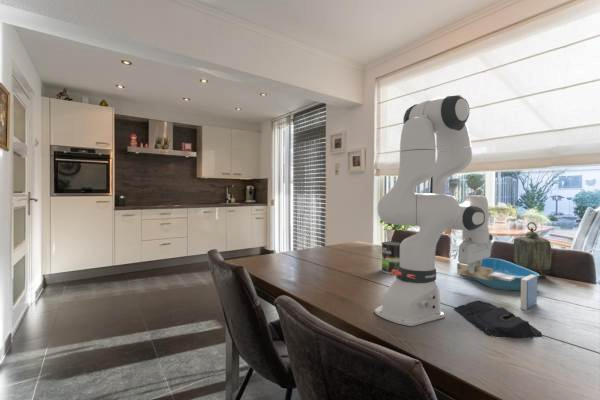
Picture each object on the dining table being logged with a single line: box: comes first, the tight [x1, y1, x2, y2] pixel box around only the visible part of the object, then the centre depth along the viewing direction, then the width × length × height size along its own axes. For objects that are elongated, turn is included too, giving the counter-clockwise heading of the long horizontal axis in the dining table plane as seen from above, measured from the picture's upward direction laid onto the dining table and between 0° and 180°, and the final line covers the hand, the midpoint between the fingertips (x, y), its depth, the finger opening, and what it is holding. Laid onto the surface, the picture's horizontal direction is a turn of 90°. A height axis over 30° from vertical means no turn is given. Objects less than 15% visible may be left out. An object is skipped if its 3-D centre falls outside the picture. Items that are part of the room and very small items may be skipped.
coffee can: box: [381, 241, 401, 275], centre depth 152 cm, size 10×10×14 cm
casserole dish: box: [469, 257, 540, 291], centre depth 137 cm, size 37×22×7 cm, turn 176°
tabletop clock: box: [512, 221, 552, 279], centre depth 145 cm, size 14×9×25 cm, turn 171°
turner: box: [456, 262, 516, 282], centre depth 117 cm, size 19×6×4 cm, turn 37°
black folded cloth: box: [453, 300, 543, 339], centre depth 93 cm, size 15×22×5 cm
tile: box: [520, 274, 538, 311], centre depth 106 cm, size 2×10×10 cm, turn 127°
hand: (474, 272), depth 120 cm, fingers closed on turner, 3 cm apart
